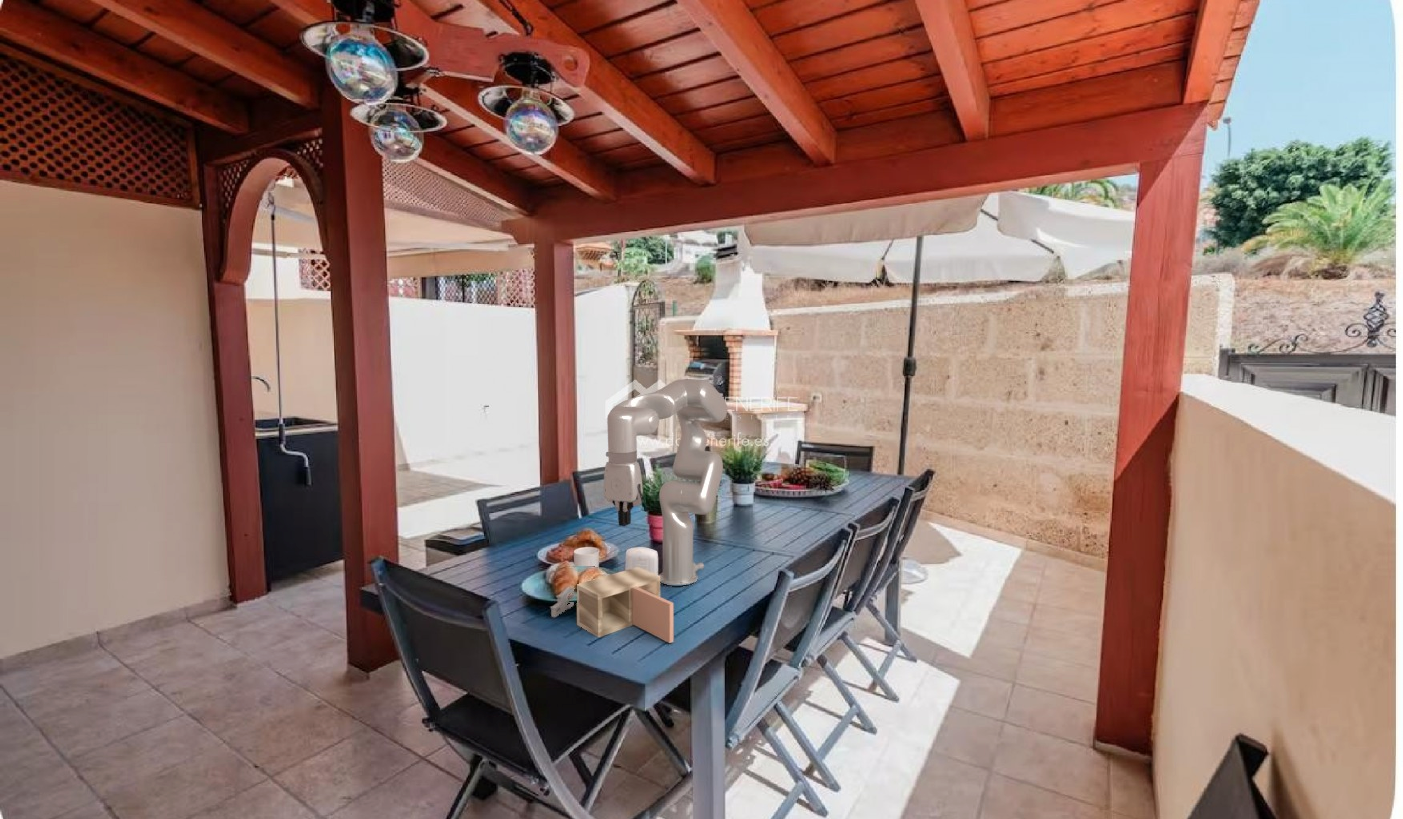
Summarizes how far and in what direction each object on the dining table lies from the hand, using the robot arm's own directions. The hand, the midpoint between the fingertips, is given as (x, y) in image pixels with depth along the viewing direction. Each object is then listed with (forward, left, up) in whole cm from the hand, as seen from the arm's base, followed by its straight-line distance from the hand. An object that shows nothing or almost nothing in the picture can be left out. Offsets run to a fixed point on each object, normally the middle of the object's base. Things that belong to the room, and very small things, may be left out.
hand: (624, 524), depth 168 cm
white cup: (-6, -29, -26) cm, 39 cm away
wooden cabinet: (+3, +1, -25) cm, 25 cm away
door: (+1, +14, -25) cm, 29 cm away
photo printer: (-16, -14, -26) cm, 33 cm away
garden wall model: (+10, -15, -26) cm, 31 cm away
